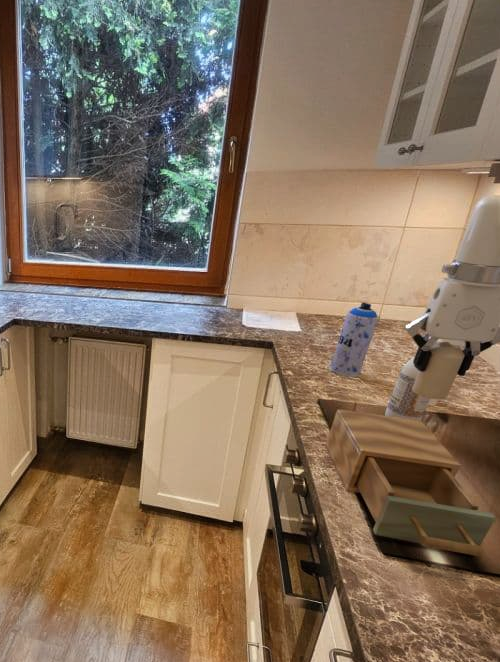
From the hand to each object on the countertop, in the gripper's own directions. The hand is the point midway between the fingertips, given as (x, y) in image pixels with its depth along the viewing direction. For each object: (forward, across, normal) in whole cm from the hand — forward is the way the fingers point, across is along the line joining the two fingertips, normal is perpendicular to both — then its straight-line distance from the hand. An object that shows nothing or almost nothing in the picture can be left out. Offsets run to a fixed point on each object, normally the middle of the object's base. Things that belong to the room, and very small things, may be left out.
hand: (438, 370), depth 88 cm
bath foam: (+19, +5, +18) cm, 27 cm away
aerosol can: (+19, -1, +45) cm, 49 cm away
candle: (+5, 0, 0) cm, 5 cm away
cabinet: (+19, -7, -9) cm, 22 cm away
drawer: (+18, -7, -25) cm, 32 cm away
